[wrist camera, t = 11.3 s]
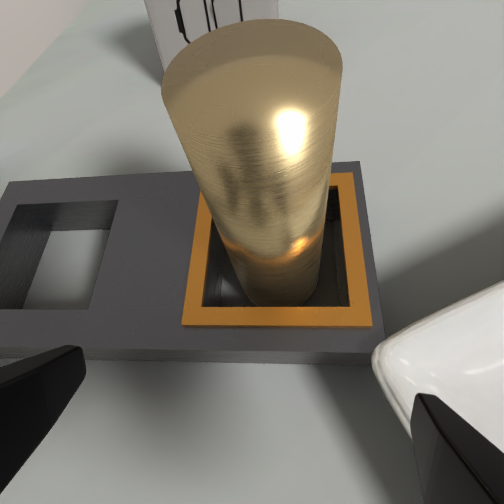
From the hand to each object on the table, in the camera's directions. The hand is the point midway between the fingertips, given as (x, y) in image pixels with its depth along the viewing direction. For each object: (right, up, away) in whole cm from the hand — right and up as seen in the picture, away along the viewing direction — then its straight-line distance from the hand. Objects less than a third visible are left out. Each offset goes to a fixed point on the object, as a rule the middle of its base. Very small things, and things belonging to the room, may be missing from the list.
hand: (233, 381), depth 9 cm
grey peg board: (-4, +2, +11) cm, 12 cm away
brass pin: (+2, +2, +10) cm, 10 cm away
